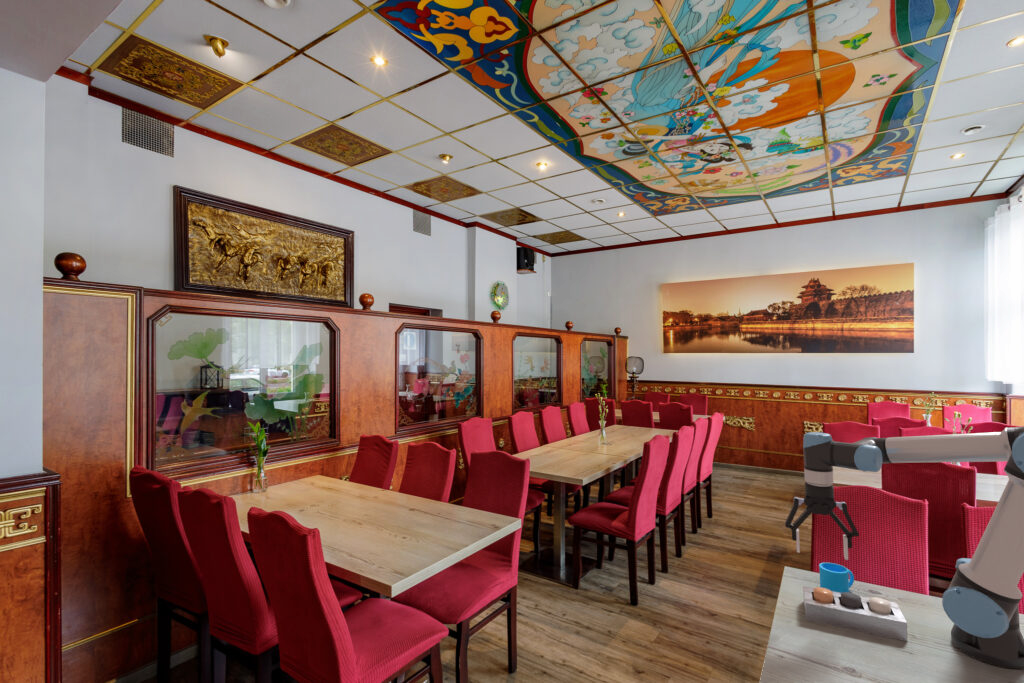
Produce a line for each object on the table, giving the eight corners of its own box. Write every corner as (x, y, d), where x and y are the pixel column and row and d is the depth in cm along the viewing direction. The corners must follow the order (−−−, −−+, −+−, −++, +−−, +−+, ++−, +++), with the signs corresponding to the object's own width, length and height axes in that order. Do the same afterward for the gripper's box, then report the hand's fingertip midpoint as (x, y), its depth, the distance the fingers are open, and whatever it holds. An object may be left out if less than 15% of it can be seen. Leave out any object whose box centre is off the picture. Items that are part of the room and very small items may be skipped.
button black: (860, 607, 145) (859, 594, 145) (862, 615, 140) (862, 601, 140) (840, 604, 147) (839, 590, 147) (842, 611, 142) (841, 598, 143)
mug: (835, 599, 155) (834, 574, 156) (814, 588, 163) (813, 564, 164) (865, 595, 158) (864, 570, 158) (842, 584, 166) (842, 560, 166)
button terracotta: (832, 602, 148) (831, 589, 148) (834, 610, 143) (833, 596, 144) (813, 598, 150) (812, 586, 150) (814, 606, 146) (814, 592, 146)
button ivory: (889, 613, 141) (888, 599, 141) (893, 621, 137) (892, 607, 137) (868, 609, 144) (867, 595, 144) (871, 617, 139) (870, 603, 139)
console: (897, 619, 143) (896, 602, 143) (907, 641, 132) (906, 622, 133) (803, 601, 154) (803, 586, 154) (806, 620, 144) (805, 603, 144)
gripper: (864, 484, 146) (867, 556, 145) (774, 476, 157) (776, 543, 156) (869, 490, 139) (872, 566, 138) (774, 482, 150) (777, 552, 149)
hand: (821, 554), depth 147 cm, fingers open, 12 cm apart
